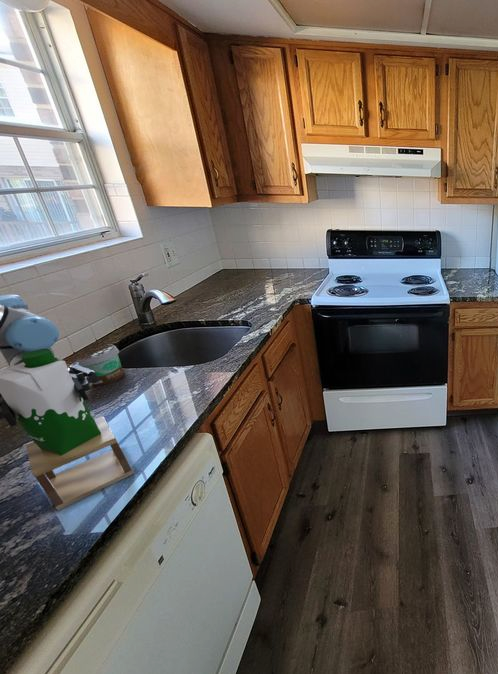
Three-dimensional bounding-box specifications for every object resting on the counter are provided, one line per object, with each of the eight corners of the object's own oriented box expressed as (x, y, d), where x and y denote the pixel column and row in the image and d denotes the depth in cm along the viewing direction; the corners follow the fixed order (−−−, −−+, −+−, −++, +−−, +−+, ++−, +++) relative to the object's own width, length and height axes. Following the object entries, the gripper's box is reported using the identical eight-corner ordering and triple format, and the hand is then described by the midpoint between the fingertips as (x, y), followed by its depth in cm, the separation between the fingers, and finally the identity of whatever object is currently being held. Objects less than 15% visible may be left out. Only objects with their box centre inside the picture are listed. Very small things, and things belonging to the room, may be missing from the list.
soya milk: (108, 431, 80) (65, 350, 71) (57, 460, 72) (1, 373, 63) (83, 424, 82) (37, 345, 74) (31, 451, 74) (-27, 366, 66)
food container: (108, 388, 116) (94, 360, 111) (88, 388, 116) (74, 361, 111) (138, 368, 127) (126, 342, 122) (120, 369, 127) (108, 343, 122)
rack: (49, 480, 81) (25, 445, 76) (120, 449, 89) (102, 415, 85) (57, 510, 73) (31, 473, 69) (134, 473, 82) (115, 437, 78)
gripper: (105, 366, 92) (127, 396, 79) (-29, 407, 77) (-29, 454, 64) (92, 339, 89) (113, 366, 76) (-51, 377, 74) (-56, 419, 61)
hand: (48, 406), depth 70 cm, fingers open, 9 cm apart
